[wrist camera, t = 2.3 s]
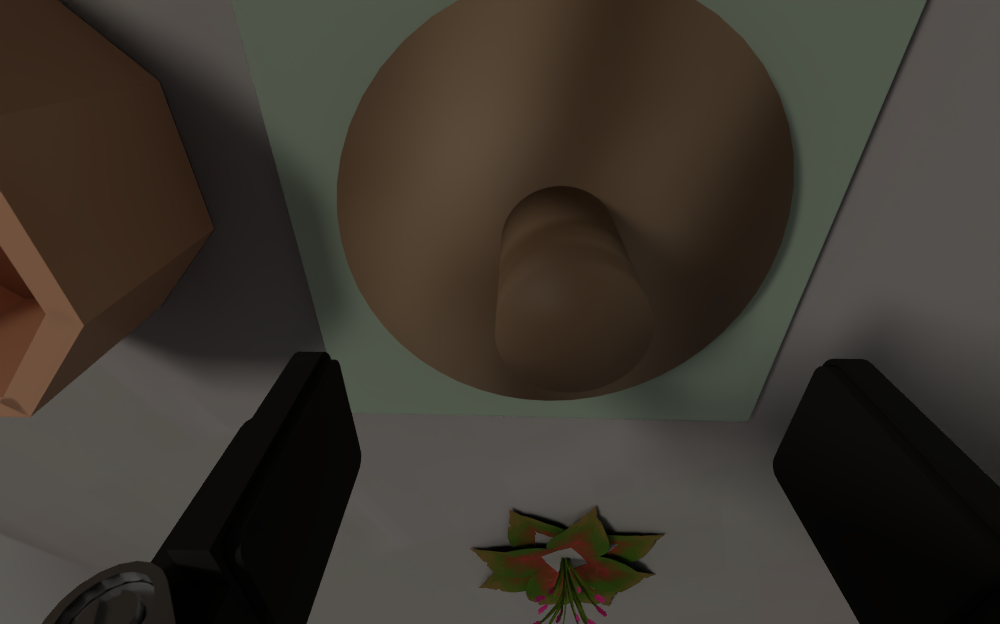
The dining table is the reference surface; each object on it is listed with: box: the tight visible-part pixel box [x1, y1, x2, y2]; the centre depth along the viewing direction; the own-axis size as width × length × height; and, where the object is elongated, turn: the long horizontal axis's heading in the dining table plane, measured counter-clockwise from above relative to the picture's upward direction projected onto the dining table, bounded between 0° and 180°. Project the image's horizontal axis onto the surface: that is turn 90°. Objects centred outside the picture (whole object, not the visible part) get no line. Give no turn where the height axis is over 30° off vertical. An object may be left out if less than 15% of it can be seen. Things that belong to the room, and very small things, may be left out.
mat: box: [231, 0, 927, 422], centre depth 16 cm, size 18×18×1 cm
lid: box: [337, 0, 794, 401], centre depth 13 cm, size 14×14×6 cm
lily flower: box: [471, 507, 664, 624], centre depth 27 cm, size 12×12×5 cm
